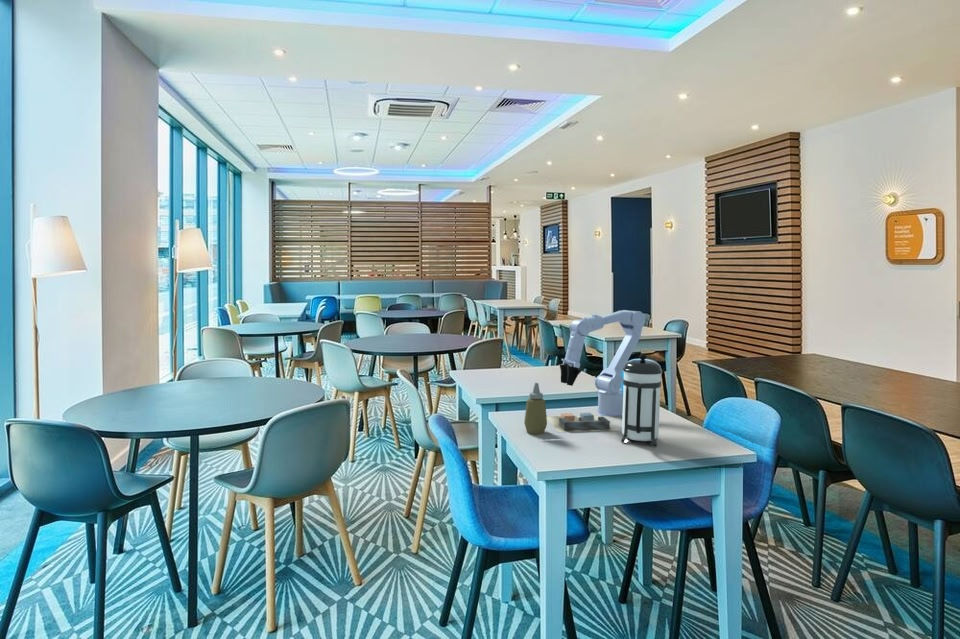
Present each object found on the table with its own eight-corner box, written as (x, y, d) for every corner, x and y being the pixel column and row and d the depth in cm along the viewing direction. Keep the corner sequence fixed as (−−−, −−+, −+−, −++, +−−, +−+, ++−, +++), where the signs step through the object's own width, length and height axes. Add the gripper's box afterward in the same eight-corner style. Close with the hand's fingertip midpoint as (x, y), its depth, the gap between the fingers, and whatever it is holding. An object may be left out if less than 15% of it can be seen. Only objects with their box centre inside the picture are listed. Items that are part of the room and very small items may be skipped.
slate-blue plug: (589, 420, 216) (590, 412, 216) (593, 423, 212) (593, 415, 212) (579, 420, 215) (580, 413, 215) (583, 423, 211) (583, 415, 211)
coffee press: (606, 437, 195) (608, 351, 193) (644, 433, 201) (647, 350, 199) (636, 451, 179) (639, 358, 177) (677, 447, 185) (681, 356, 182)
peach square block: (571, 420, 215) (571, 413, 214) (574, 423, 211) (574, 415, 210) (560, 421, 214) (561, 413, 214) (564, 423, 210) (564, 416, 210)
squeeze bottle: (522, 435, 196) (523, 384, 194) (525, 429, 204) (526, 380, 202) (545, 437, 194) (546, 385, 192) (548, 431, 202) (549, 381, 200)
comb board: (595, 416, 224) (595, 407, 224) (617, 431, 202) (617, 422, 202) (543, 417, 221) (543, 409, 220) (559, 433, 199) (559, 423, 199)
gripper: (559, 346, 225) (551, 379, 225) (570, 348, 211) (562, 384, 211) (575, 350, 226) (567, 383, 226) (588, 353, 212) (579, 388, 212)
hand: (566, 384), depth 218 cm, fingers open, 7 cm apart
